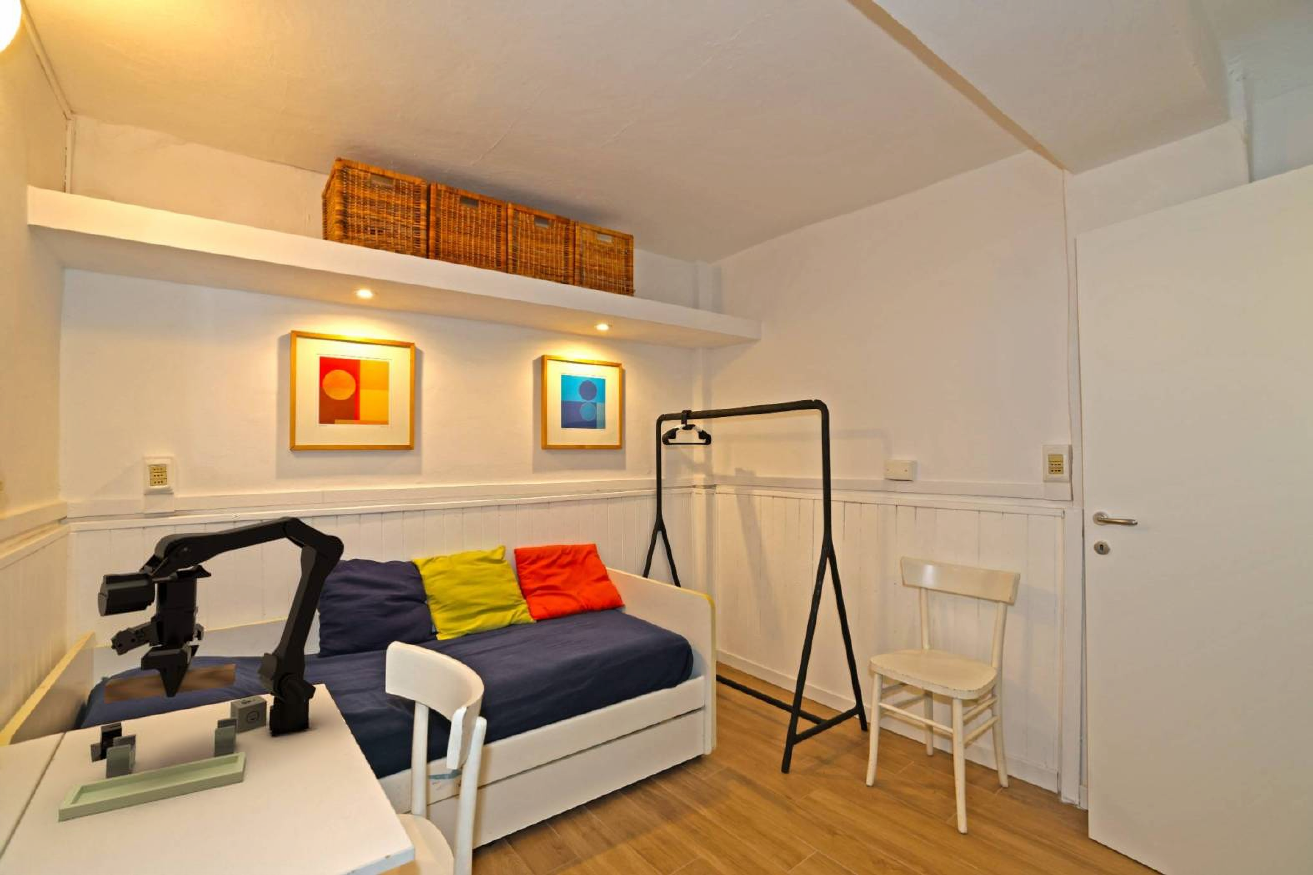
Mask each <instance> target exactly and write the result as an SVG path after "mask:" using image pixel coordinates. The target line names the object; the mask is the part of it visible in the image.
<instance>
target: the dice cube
mask: <svg viewBox="0 0 1313 875" xmlns="http://www.w3.org/2000/svg"><path fill="white" fill-rule="evenodd" d="M267 708H268V700H266V699H265V698H263V696H261V695H259V694H256V695H253V696H249V697H244V698H241V699H237V700H231V701H230V709H229V710H230V716H229V718H232V717H237V732H236V734H241V733H245V732H248V731H252V730H255V729H258V728H261V727H266V726H267V716H268V715H267V713H268V712H267V711H268V710H267Z"/></svg>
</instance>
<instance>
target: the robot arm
mask: <svg viewBox="0 0 1313 875" xmlns="http://www.w3.org/2000/svg"><path fill="white" fill-rule="evenodd" d="M282 539H287V540H288V541H289V542H290V543H292V544H293V545H295V546H296V547H298V548H300V549H301V551H300V552H301V553H300V558H299V560H300V570H301V574H300V575H301V576H300V580H299V582H298V585H297V589H296V591H295V594H294V597H293V600H292V604H291V607H290V610H289V613H288V615H287V619H286V622H285V625H284V628H283V631H282V635H281V638H280V641H279V643H278V645H277V647H276V648H274V650H273V651H271V652H272V653H270V652H264V654H263V656H262V661H261V665H260V667H259V668H258V670H257V672H256V674H258V675H259V677H258V681H259V683H260V685H261V686H262V688H263V689H266V690H267V691H268V692H269V695H270V696H272V697H273V699H272V700H273V701H272V705H270V706H269V714H268V715H269V719H268V720H269V721H268V731H269V732H271V733H270V734H271V737H272V738H273V737H277V736H278V737H279V736H283V735H284V736H285V735H289V734H293V733H300V732H305V731H308V730H310V700H312V699H313V698H314V697H315V693H316V690H317V687H316V686H315V685H313V684H312V683H310V682H309V681H307V680H305V673H306V666H307V664H306V655H305V647H306V645H307V644H306V643H307V642H308V637H309V635H310V631H311V628H312V625H313V621H314V618H315V616H316V612H317V609H318V605H319V604H320V603H319V602H320V600H321V596H322V593H323V589H324V587H325V583H326V581H327V578H329V576H330V575H331V574H332V572H334V570H335V569H336V568H337V566H338V564H339V562H340V560H341V558H342V556H343V555H344V552H345V544H344V543H343V541H342V539H341V538H340V537H339V536H336V535H335V534H334V535H332V534H327V533H324V532H321V531H320V530H318V529H317V528H314V527H312V526H311V525H308V524H307V523H306V522H304V521H302V519H301V518H298V517H295V516H294V517H293V516H282V517H279V518H277V519H272V520H267V521H261V522H257V523H252V524H248V525H243V526H238V527H233V528H228V529H224V530H223V529H222V530H219V531H213V532H212V531H211V532H210V531H209V532H185V533H183V532H181V533H171V534H168V535H165V536H163V537H161V538H160V539H159V541H158V542H157V543H156V545H155V547H154V550H153V551H154V552H153V554H152V555H151V557H150V558H148V560H147V561H146V562H145V563H144V564H143V565H142V566H141V568H140V569H139V570H138V572H137V571H136V572H128V573H108V574H103V576H102V577H103V578H102V582H101V584H100V589H99V592H98V593H97V608H98V613H99V616H100V617H101V618H103V617H109V616H114V615H124V614H129V613H136V612H143V611H146V610H147V608H148V607H151V606H152V604H154V603H155V613H154V615H152V616H151V617H150V620H149V621H147V622H142V623H141V624H139V625H135V626H133V627H131V626H130V627H127V628H126V629H123V630H118V632H116V634H115V635H113V636H112V638H111V639H110V642H111V644H112V645H111V649H112V650H115V652H116V654H117V656H119V657H120V656H122V655H125V654H127V653H128V652H130V651H132V650H135V649H138V648H140V647H142V646H146V645H147V644H148V647H149V648H150V649H149V650H147V651H146V652H145V653H144V655H142V657H141V658H140V671H151V670H155V671H158V673H160V675H161V678H162V681H163V685H164V688H165V692H166V698H168V699H170V698H174V697H176V696H177V694H178V693H177V691H178V689H179V687H180V685H181V682H182V680H183V678H184V676H185V674H186V671H187V670H190V667H191V665H192V662H193V660H194V658H195V657H196V654H197V652H198V649H199V648H200V644H192V645H191V642H194V640H195V639H197V641H198V642H199V641H200V642H201V641H202V640H203V639H204V636H205V635H204V634H205V627H204V626H203V625H201V624H200V623H197V622H196V620H197V614H198V613H199V606H197V596H198V595H197V594H198V593H197V592H198V579H205V578H210V577H211V576H212V573H211V572H210V571H208V570H206V569H205V568H204V567H203V565H202V563H204V562H207V561H209V560H211V559H213V558H214V557H217V556H219V555H221V554H224V553H226V552H231V551H235V550H239V549H245V548H249V547H252V546H253V547H254V546H257V545H261V544H266V543H270V542H275V541H278V540H282Z"/></svg>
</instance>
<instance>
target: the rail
mask: <svg viewBox="0 0 1313 875" xmlns="http://www.w3.org/2000/svg"><path fill="white" fill-rule="evenodd" d="M235 682H236V663H229V664H223V665H214V666H205V667H200V668H189V669H188V670H187V671H186V674H185V676H184V678H183V680H182V682H181V685H180V687H179V689H178V691H177V693H176V694H181V693H187V692H193V691H201V690H207V689H215V688H222V687H223V688H224V687H229V686H234V684H235ZM165 695H166V692H165V688H164V685H163V681H162V678H161V675H160V672H158V673H152V674H143V675H136V676H128V677H121V678H111V679H109V680H108V681H107V683H105V684H104V695H103V696H104V699H103V700H104V702H103V704H109V703H116V702H125V701H129V700H137V699H138V700H139V699H144V698H145V699H146V698H153V697H159V696H165ZM166 696H167V695H166Z"/></svg>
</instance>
